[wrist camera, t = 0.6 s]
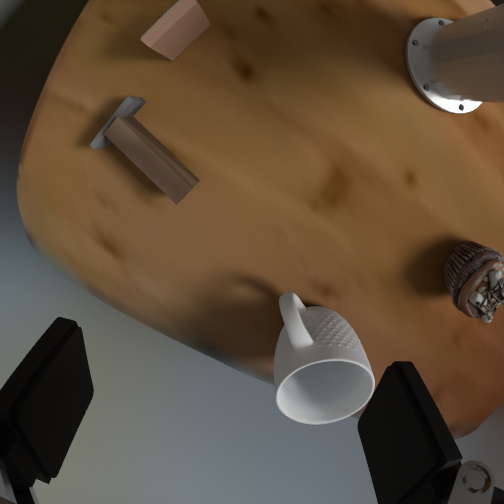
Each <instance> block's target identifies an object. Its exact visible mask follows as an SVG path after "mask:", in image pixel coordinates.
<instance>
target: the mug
mask: <svg viewBox="0 0 504 504" xmlns="http://www.w3.org/2000/svg"><path fill="white" fill-rule="evenodd" d="M279 306H280V310H281V314H282V318H283V321H284V324H285V325H284V326H283V328H282V331H281V332H280V335H279V337H278V341H277V346H276V349H275V356H274V357H275V360H274V381H275V384H274V386H275V398H276V403H277V406H278V408H279V409H280V410H281V412H282V413H283V414H284V415H286V416H287V417H289V418H291V419H293V420H295V421H298V422H301V423H307V424H326V423H331V422H335V421H338V420H341V419H344V418H346V417H348V416H350V415H352V414H354V413H355V412H357V411H358V410H360V409H361V408H362V407H363V406H364V405H365V404H366V403H367V402H368V400H369V399H370V397H371V396H372V394H373V391H374V386H375V380H374V376H373V373H372V370H371V367H370V365H369V361H368V359H367V356H366V353H365V351H364V349H363V346H362V345H361V343H360V340H359V339H358V337H357V334H356V333H355V332H354V330H353V328H352V327H351V326H350V325H349V323H348V322H346V321H345V319H344V318H342V317H341V315H339V314H337V313H336V312H335V311H332V310H331V309H328V308H325V307H320V306H311V307H306V308H305V306H304V305H303V303H302V302H301V300H300V299H299V298H298V296H297V295H296V294H295V293H293V292H288V293H285V294H283V295H282V296H281V297H280V298H279Z"/></svg>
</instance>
